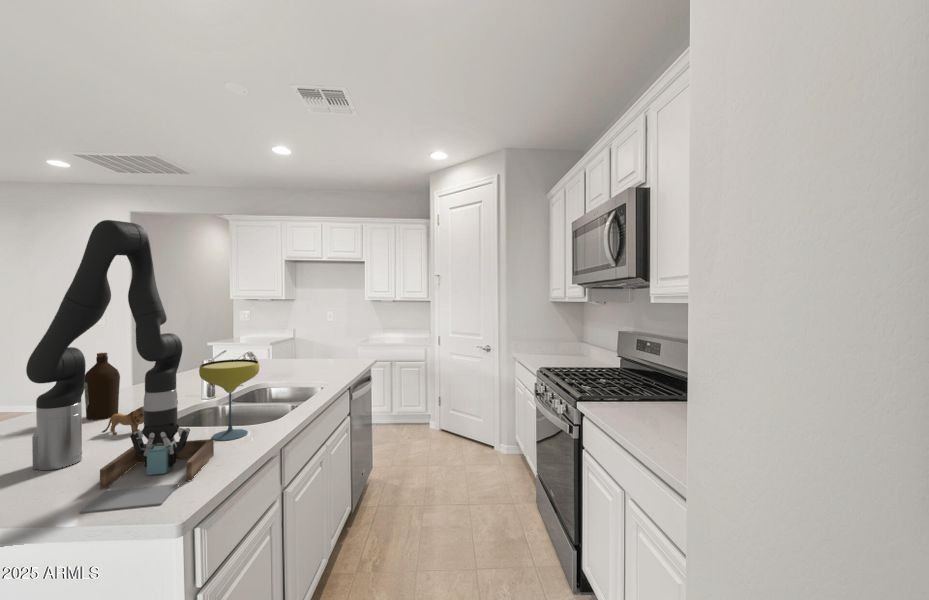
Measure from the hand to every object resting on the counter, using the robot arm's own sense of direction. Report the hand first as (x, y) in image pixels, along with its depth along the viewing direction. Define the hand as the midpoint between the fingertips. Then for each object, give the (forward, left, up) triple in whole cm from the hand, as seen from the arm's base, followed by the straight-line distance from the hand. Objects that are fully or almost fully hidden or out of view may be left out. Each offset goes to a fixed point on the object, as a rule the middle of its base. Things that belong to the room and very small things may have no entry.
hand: (160, 466), depth 114 cm
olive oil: (-44, +60, -2) cm, 74 cm away
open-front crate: (0, 0, -1) cm, 1 cm away
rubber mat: (0, -15, -1) cm, 15 cm away
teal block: (0, 0, -1) cm, 1 cm away
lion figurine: (-25, +38, -2) cm, 45 cm away
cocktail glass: (+10, +27, -2) cm, 29 cm away
